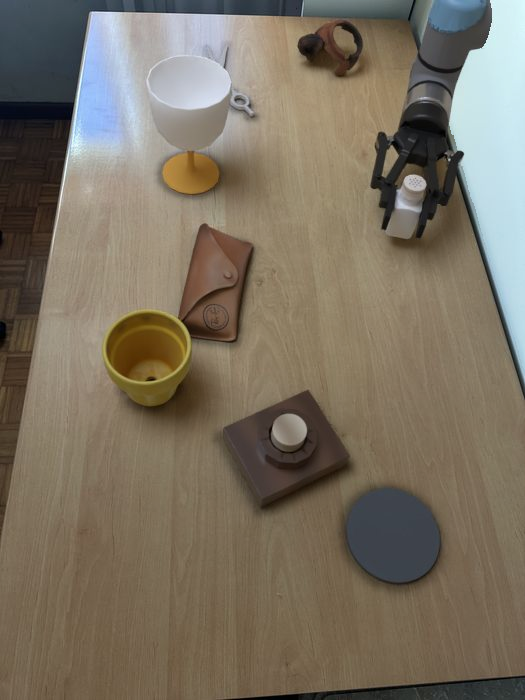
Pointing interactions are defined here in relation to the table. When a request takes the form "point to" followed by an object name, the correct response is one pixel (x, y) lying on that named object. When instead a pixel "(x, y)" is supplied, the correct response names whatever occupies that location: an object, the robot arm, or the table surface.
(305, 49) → the brown curved piece
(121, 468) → the table surface
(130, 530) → the table surface
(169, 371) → the flower pot
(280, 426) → the cream short cylinder
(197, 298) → the sunglasses case
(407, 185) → the pepper shaker
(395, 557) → the mat
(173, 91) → the cup
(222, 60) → the scissors
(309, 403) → the button base
